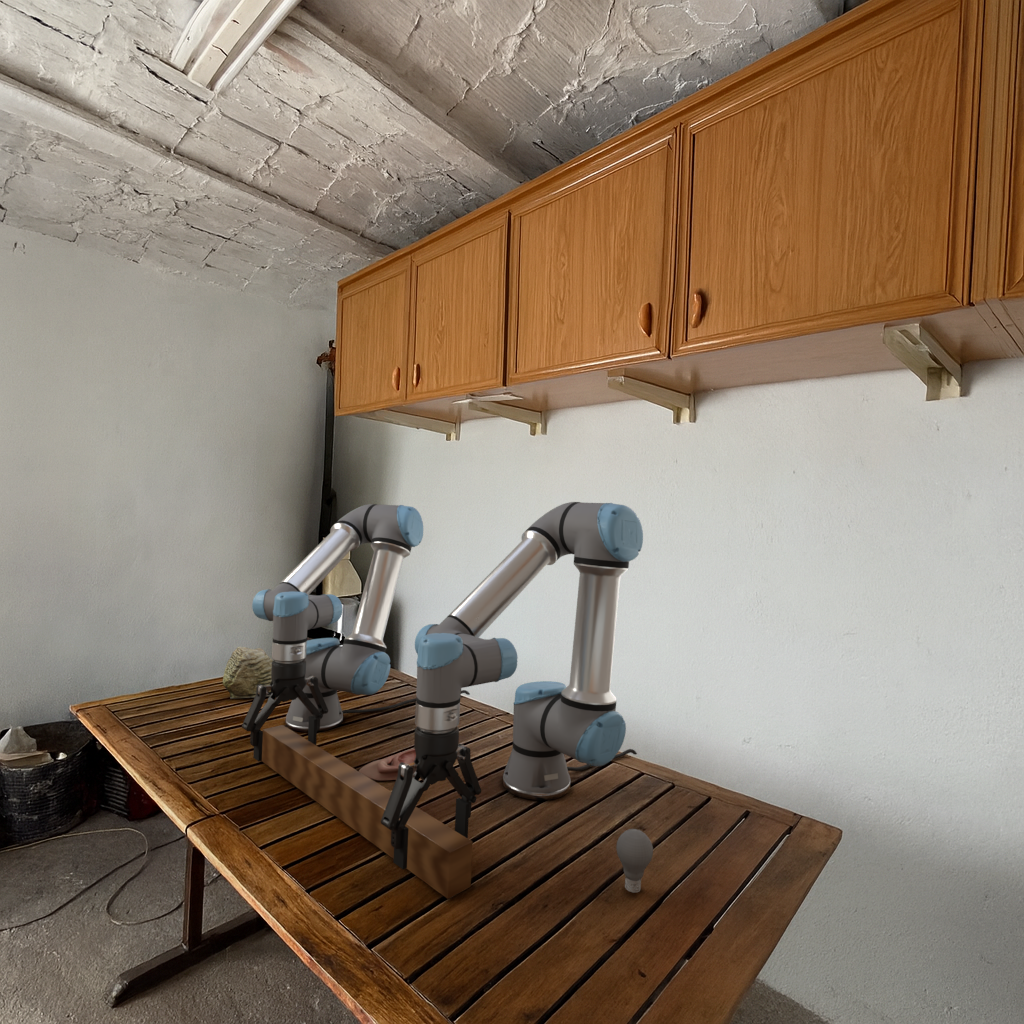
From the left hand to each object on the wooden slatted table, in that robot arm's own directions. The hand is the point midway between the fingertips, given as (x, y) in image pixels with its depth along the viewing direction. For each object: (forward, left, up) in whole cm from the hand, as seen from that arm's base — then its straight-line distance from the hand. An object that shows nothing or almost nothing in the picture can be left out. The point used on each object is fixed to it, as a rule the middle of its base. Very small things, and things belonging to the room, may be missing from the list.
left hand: (285, 751), depth 146 cm
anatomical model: (-16, +18, -4) cm, 24 cm away
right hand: (+6, +54, 0) cm, 55 cm away
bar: (+3, +27, -4) cm, 28 cm away
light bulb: (-13, +82, -4) cm, 84 cm away
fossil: (-23, -54, -4) cm, 59 cm away
